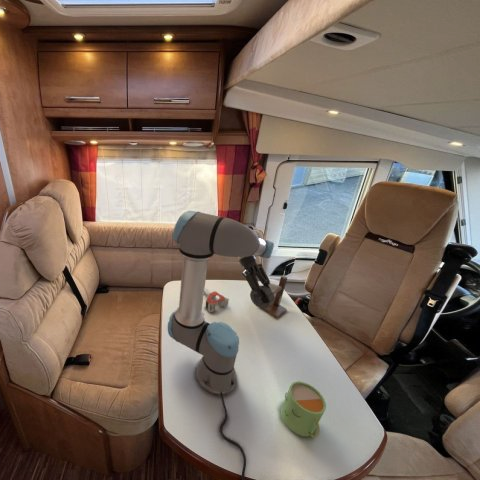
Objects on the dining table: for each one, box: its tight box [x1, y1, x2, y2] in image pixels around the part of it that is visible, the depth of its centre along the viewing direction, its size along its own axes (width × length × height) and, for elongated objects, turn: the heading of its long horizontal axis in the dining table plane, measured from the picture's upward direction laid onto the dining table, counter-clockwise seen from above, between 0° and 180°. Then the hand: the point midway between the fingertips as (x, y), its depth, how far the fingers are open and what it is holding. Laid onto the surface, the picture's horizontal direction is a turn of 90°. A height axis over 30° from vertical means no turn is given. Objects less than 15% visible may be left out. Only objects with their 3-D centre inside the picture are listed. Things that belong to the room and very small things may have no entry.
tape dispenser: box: [204, 287, 230, 313], centre depth 133 cm, size 18×5×20 cm
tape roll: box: [249, 285, 275, 310], centre depth 113 cm, size 10×4×10 cm, turn 37°
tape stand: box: [259, 275, 288, 319], centre depth 123 cm, size 18×10×20 cm, turn 127°
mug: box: [280, 380, 327, 438], centre depth 76 cm, size 13×10×12 cm
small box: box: [268, 277, 280, 300], centre depth 138 cm, size 8×6×10 cm
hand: (269, 300), depth 110 cm, fingers closed on tape roll, 4 cm apart
